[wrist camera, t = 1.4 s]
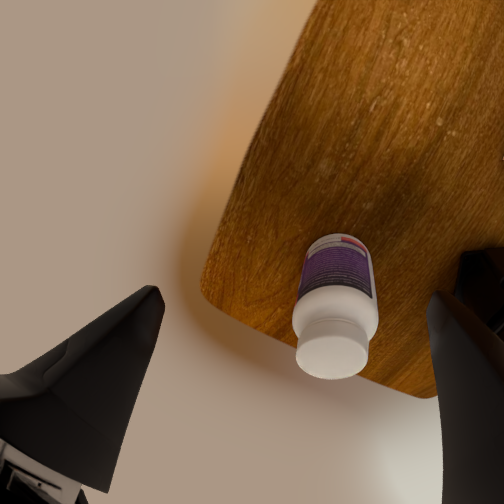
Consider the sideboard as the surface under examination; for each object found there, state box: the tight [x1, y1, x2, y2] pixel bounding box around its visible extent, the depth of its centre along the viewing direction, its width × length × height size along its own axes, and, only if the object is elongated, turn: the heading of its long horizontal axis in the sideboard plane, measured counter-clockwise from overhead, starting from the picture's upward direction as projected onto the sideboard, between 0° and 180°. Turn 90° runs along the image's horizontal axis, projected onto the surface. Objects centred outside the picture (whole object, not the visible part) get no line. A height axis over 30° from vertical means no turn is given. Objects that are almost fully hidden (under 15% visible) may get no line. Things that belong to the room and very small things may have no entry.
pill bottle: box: [292, 234, 378, 379], centre depth 18 cm, size 5×5×10 cm
